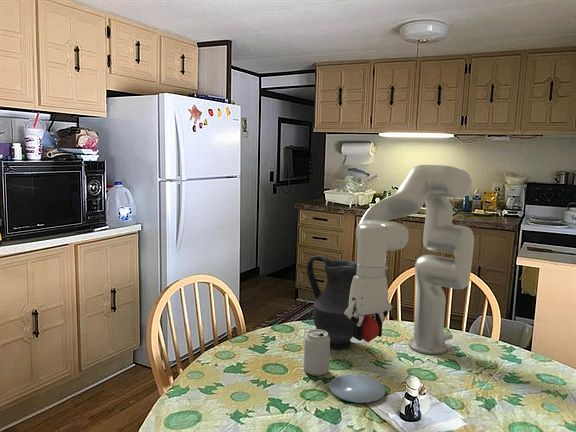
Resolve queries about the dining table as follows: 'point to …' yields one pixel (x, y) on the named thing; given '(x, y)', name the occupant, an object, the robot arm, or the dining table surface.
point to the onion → (369, 328)
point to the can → (316, 352)
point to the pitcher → (333, 300)
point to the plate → (357, 388)
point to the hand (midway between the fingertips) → (367, 336)
